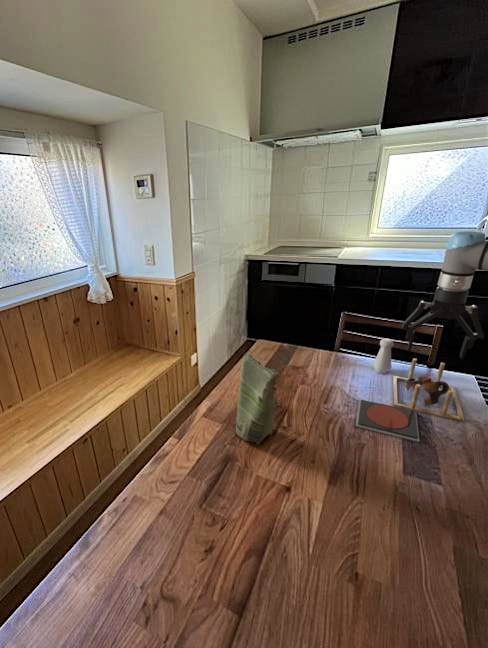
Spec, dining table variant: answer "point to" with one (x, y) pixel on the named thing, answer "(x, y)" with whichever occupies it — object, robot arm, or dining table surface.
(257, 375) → the pouch
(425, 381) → the pottery mug
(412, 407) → the drying rack
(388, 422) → the hob
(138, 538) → the dining table surface
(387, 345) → the salt shaker
